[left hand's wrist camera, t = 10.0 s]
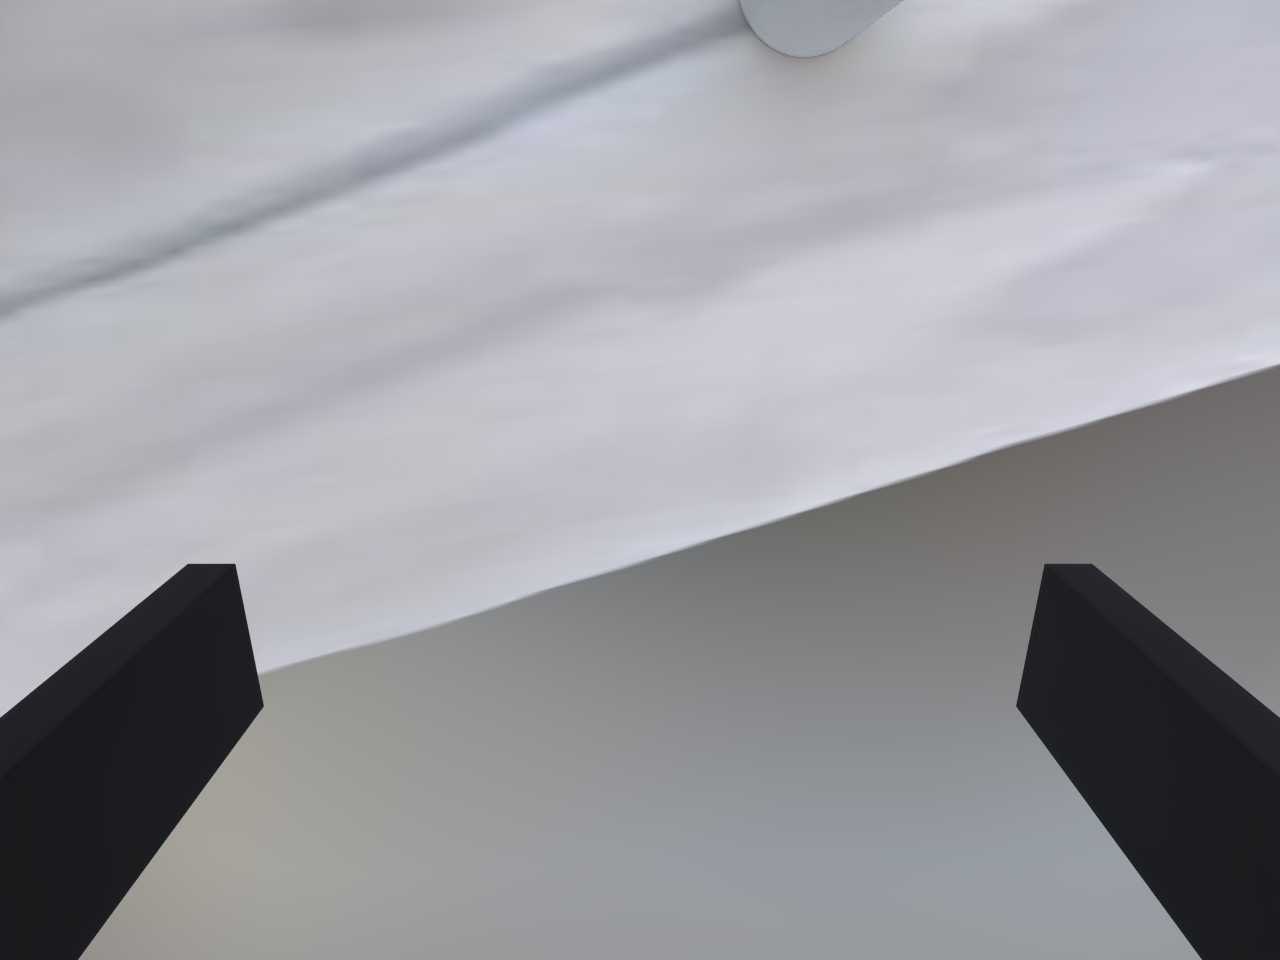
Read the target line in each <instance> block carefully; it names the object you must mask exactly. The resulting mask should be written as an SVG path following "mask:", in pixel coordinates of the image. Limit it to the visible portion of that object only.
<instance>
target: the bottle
mask: <svg viewBox="0 0 1280 960" xmlns="http://www.w3.org/2000/svg"><path fill="white" fill-rule="evenodd" d="M739 1H740V4H741V8H742V11H743V13H744V16H745V18H746V20H747V22H748V24H749V25H750V27H751V29H752V30H753V31H754V32H755V34H756V35H757V36H758V37H759V38H760V39H761V40H762V41H763V42H764V43H765V44H767V45H768V46H769V47H771V48H772V49H774V50H776V51H778V52H780V53H783V54H786V55H789V56H794V57H814V56H819V55H823V54H826V53H828V52H831V51H833V50H835V49H837V48H838V47H840V46H842V45H843V44H845V43H846V42H847V41H849V40H850V39H852V38H853V37H854V36H856V35H857V34H858V33H860V32H861V31H862V30H864V29H865V28H867V27H868V26H869V25H871V24H872V23H873V22H875V21H876V20H877V19H879V18H880V17H882V16H883V15H884V14H886V13H887V12H888V11H890V10H891V9H892V8H894V7H895V6H897V5H898V4H899V3H901V2H902V1H903V0H739Z"/></svg>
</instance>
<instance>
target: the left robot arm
mask: <svg viewBox="0 0 1280 960" xmlns="http://www.w3.org/2000/svg"><path fill="white" fill-rule="evenodd" d="M263 707H264V705H263V700H262V695H261V690H260V685H259V680H258V675H257V670H256V665H255V660H254V655H253V650H252V645H251V640H250V635H249V630H248V625H247V620H246V615H245V610H244V605H243V600H242V595H241V590H240V585H239V580H238V575H237V570H236V565H235V564H187V565H186V566H185V567H184V568H182V569H181V570H180V571H179V572H178V573H176V574H175V575H174V576H173V577H171V578H170V579H169V580H168V581H167V582H165V583H164V584H163V585H162V586H160V587H159V588H158V589H157V590H156V591H154V592H153V593H152V594H151V595H149V596H148V597H147V598H146V599H145V600H143V601H142V602H141V603H140V604H139V605H137V606H136V607H135V608H134V609H132V610H131V611H130V612H129V613H128V614H126V615H125V616H124V617H123V618H121V619H120V620H119V621H118V622H117V623H115V624H114V625H113V626H112V627H110V628H109V629H108V630H107V631H106V632H104V633H103V634H102V635H101V636H99V637H98V638H97V639H96V640H95V641H93V642H92V643H91V644H90V645H89V646H87V647H86V648H85V649H84V650H82V651H81V652H80V653H79V654H78V655H76V656H75V657H74V658H73V659H71V660H70V661H69V662H68V663H67V664H65V665H64V666H63V667H62V668H60V669H59V670H58V671H57V672H56V673H54V674H53V675H52V676H51V677H49V678H48V679H47V680H46V681H45V682H43V683H42V684H41V685H40V686H39V687H37V688H36V689H35V690H34V691H32V692H31V693H30V694H29V695H28V696H26V697H25V698H24V699H23V700H21V701H20V702H19V703H18V704H17V705H15V706H14V707H13V708H12V709H10V710H9V711H8V712H7V713H6V714H4V715H3V716H2V717H1V718H0V960H78V959H79V958H80V956H81V955H82V953H83V952H84V951H85V949H86V948H87V947H88V945H89V944H90V942H91V941H92V940H93V938H94V937H95V936H96V934H97V933H98V932H99V930H100V929H101V927H102V926H103V925H104V923H105V922H106V921H107V919H108V918H109V917H110V915H111V914H112V913H113V911H114V910H115V908H116V907H117V906H118V904H119V903H120V902H121V900H122V899H123V897H124V896H125V895H126V893H127V892H128V891H129V889H130V888H131V887H132V885H133V884H134V883H135V881H136V880H137V878H138V877H139V876H140V874H141V873H142V872H143V870H144V869H145V867H146V866H147V865H148V863H149V862H150V861H151V859H152V858H153V857H154V855H155V854H156V853H157V851H158V850H159V848H160V847H161V846H162V844H163V843H164V842H165V840H166V839H167V838H168V836H169V835H170V833H171V832H172V831H173V829H174V828H175V827H176V825H177V824H178V823H179V821H180V820H181V818H182V817H183V816H184V814H185V813H186V812H187V810H188V809H189V808H190V806H191V805H192V803H193V802H194V801H195V799H196V798H197V797H198V795H199V794H200V792H201V791H202V790H203V788H204V787H205V786H206V784H207V783H208V782H209V780H210V779H211V778H212V776H213V775H214V773H215V772H216V771H217V769H218V768H219V767H220V765H221V764H222V763H223V761H224V760H225V758H226V757H227V756H228V754H229V753H230V752H231V750H232V749H233V748H234V746H235V745H236V743H237V742H238V741H239V739H240V738H241V737H242V735H243V734H244V733H245V731H246V730H247V728H248V727H249V726H250V724H251V723H252V722H253V720H254V719H255V718H256V716H257V715H258V713H259V712H260V711H261V709H262V708H263ZM1016 707H1017V708H1018V709H1019V711H1020V712H1021V713H1022V715H1023V716H1024V718H1025V719H1026V720H1027V722H1028V723H1029V724H1030V726H1031V727H1032V728H1033V730H1034V731H1035V733H1036V734H1037V735H1038V737H1039V738H1040V739H1041V741H1042V742H1043V743H1044V745H1045V746H1046V748H1047V749H1048V750H1049V752H1050V753H1051V754H1052V756H1053V757H1054V758H1055V760H1056V761H1057V763H1058V764H1059V765H1060V767H1061V768H1062V769H1063V771H1064V772H1065V773H1066V775H1067V776H1068V778H1069V779H1070V780H1071V782H1072V783H1073V784H1074V786H1075V787H1076V788H1077V790H1078V791H1079V793H1080V794H1081V795H1082V797H1083V798H1084V799H1085V801H1086V802H1087V803H1088V805H1089V806H1090V808H1091V809H1092V810H1093V812H1094V813H1095V814H1096V816H1097V817H1098V818H1099V820H1100V821H1101V823H1102V824H1103V825H1104V827H1105V828H1106V829H1107V831H1108V832H1109V833H1110V835H1111V836H1112V838H1113V839H1114V840H1115V842H1116V843H1117V844H1118V846H1119V847H1120V848H1121V850H1122V851H1123V853H1124V854H1125V855H1126V857H1127V858H1128V859H1129V861H1130V862H1131V863H1132V865H1133V866H1134V868H1135V869H1136V870H1137V872H1138V873H1139V874H1140V876H1141V877H1142V878H1143V880H1144V881H1145V882H1146V884H1147V885H1148V887H1149V888H1150V889H1151V891H1152V892H1153V893H1154V895H1155V896H1156V898H1157V899H1158V900H1159V902H1160V903H1161V904H1162V906H1163V907H1164V908H1165V910H1166V911H1167V913H1168V914H1169V915H1170V917H1171V918H1172V919H1173V921H1174V922H1175V923H1176V925H1177V926H1178V928H1179V929H1180V930H1181V932H1182V933H1183V934H1184V936H1185V937H1186V938H1187V940H1188V941H1189V943H1190V944H1191V945H1192V947H1193V948H1194V949H1195V951H1196V952H1197V953H1198V955H1199V956H1200V958H1201V959H1202V960H1280V718H1279V717H1278V716H1277V715H1276V714H1274V713H1273V712H1272V711H1271V710H1269V709H1268V708H1267V707H1266V706H1265V705H1263V704H1262V703H1261V702H1260V701H1258V700H1257V699H1256V698H1255V697H1254V696H1252V695H1251V694H1250V693H1249V692H1248V691H1246V690H1245V689H1244V688H1243V687H1241V686H1240V685H1239V684H1238V683H1237V682H1235V681H1234V680H1233V679H1232V678H1231V677H1229V676H1228V675H1227V674H1226V673H1224V672H1223V671H1222V670H1221V669H1220V668H1218V667H1217V666H1216V665H1215V664H1213V663H1212V662H1211V661H1210V660H1209V659H1207V658H1206V657H1205V656H1204V655H1202V654H1201V653H1200V652H1199V651H1198V650H1196V649H1195V648H1194V647H1193V646H1191V645H1190V644H1189V643H1188V642H1187V641H1185V640H1184V639H1183V638H1182V637H1181V636H1179V635H1178V634H1177V633H1176V632H1174V631H1173V630H1172V629H1171V628H1170V627H1168V626H1167V625H1166V624H1165V623H1163V622H1162V621H1161V620H1160V619H1159V618H1157V617H1156V616H1155V615H1154V614H1152V613H1151V612H1150V611H1149V610H1148V609H1146V608H1145V607H1144V606H1143V605H1141V604H1140V603H1139V602H1138V601H1137V600H1135V599H1134V598H1133V597H1132V596H1131V595H1129V594H1128V593H1127V592H1126V591H1124V590H1123V589H1122V588H1121V587H1119V586H1118V585H1117V584H1116V583H1115V582H1113V581H1112V580H1111V579H1110V578H1109V577H1107V576H1106V575H1105V574H1104V573H1102V572H1101V571H1100V570H1099V569H1098V568H1096V567H1095V566H1094V565H1093V564H1045V565H1044V570H1043V575H1042V580H1041V585H1040V590H1039V595H1038V600H1037V605H1036V610H1035V615H1034V620H1033V625H1032V630H1031V635H1030V640H1029V645H1028V650H1027V655H1026V660H1025V665H1024V670H1023V675H1022V680H1021V685H1020V690H1019V695H1018V700H1017V705H1016Z"/></svg>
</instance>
